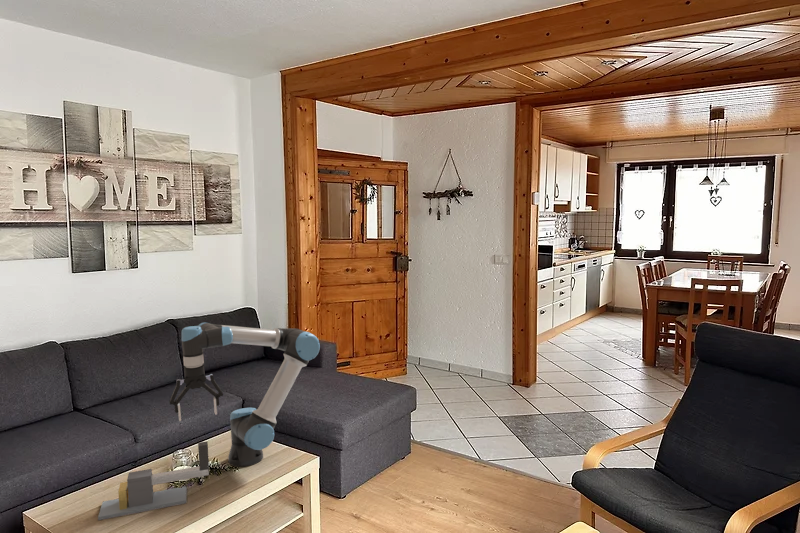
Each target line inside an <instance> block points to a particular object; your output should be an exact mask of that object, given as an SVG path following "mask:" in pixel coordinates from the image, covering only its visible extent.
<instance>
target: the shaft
mask: <svg viewBox="0 0 800 533" xmlns="http://www.w3.org/2000/svg"><path fill="white" fill-rule="evenodd" d="M208 443H209V442H208V441H201V442H198V443H197V446H198V448H197V449H198V462H199V463H198V464H199V466H192V467H186V468H181V469H180V468H179V469H175V470H170V471H169V470H168V471H163V472H158V473H152V474H151V484H152V485H153V486H156V485H160V484H166V483H172V482H173V483H174V482H176V481H183V480H188V479H194V478H200V477H206V476H210V475H209V470H210V461H209V446H208Z"/></svg>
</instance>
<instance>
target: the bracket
mask: <svg viewBox="0 0 800 533" xmlns="http://www.w3.org/2000/svg"><path fill="white" fill-rule="evenodd" d="M152 470H153V468H147V469H142V470H136V471H130V472H128V474H127V479H126V482H127V484H128V499H129V502H128V507H127V509H122V510H120V508H119V498H115V499H110V500H105V501H102V504H101V506H100V510H99V513H98V515H97V521H100V520H101V521H102V520H108V519H113V518H118V517H121V516H127V515H132V514H137V513H142V512H148V511H153V510H158V509H164V508H169V507H173V506H178V505H180V506H181V505H184V504H187V489H188V488H187V485H184V486H181V487H182V488H179V487H174V488H169V489H164V490H158V491H154V485H152V484H151V474H153V471H152Z"/></svg>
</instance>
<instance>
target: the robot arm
mask: <svg viewBox="0 0 800 533" xmlns="http://www.w3.org/2000/svg"><path fill="white" fill-rule="evenodd" d="M231 344H235V345H236V344H237V345H238V344H239V345H248V346H249V345H250V346H251V345H252V346H260V347H261V346H263V347H271V349H274V350H280V351H283V352H284V353H283V357H284V359H283V361H282V363H281V365H280V367H279V369H278V371H277V372H276V375H275V376H274V379H273V380H272V381H271V384H270V385H269V387H268V390H267V391H266V392H265V395H264V396H263V398H262V400H261V402H260V404H259V406H258V407H257V408H256V407H244V408H237V409H235V410H233V411H232V412H230V414H229V415H230V416H229V422H230V437H231V438H230V439H231V446H230V448H229V453H228V457H227V458H228V464H229V465H231V466H234V467H249V466H253V465H255V464H258V463H259V462H261V461H262V460H264V452H263V450H264V449H266V448H268V447H269V446H270V445H271V444H272V442H274V439H275V430H274V429H275V428H276V425H277V419H276V417H277V415H278V414H279V412H280V410H281V408H282V406H283V404H284V402H285V400H286V398H287V396H288V394H290V390H291V389H292V387H293V386H294V384H295V382H296V379H297V377H298V376H299V374H300V372H301V370H302V368H304V367H307V366H308V364H309V361H311V360H313V359H315V358H316V357H317V356H318V355H319V352H320V348H321V345H320V340H319V338H318V337H317V336H316V335H315V334H313V333H311V332H309V331H305V330H303V329H302V330H301V329H300V328H286V327H284V328H281V327H274V328H273V329H268V328H258V327H248V326H247V327H246V326H237V325H224V324H217V323H216V324H215V323H214V324H213V323H210V322H201V323H199V324H198V325H194V326H193V325H192V326H185V327H183V328H182V330H181V345H182V357H183V358H182V360H183V366H184V367H183V370H184V371H183V372H184V378H183V379H179V378H177V379H176V385H175V387H174V389H173V391H172V393H171V396H170V399H169V401H168V402H169V405H174V413H176V414H178V421H179V422H181V421H182V414H181V405H180V404H181V403H180V402H181V401H182V399H183V398H184V397H185V395H186V394H187V392H189V391H190V390H195V389H201V388H203V389H205V390H206V391H207V392H208V393H210V394H211V395H212V396H213V411H214V412H213V413H214V414H215V416H216V415H218V410H217V409H218V407H217V406H220V397H223V396H224V392H223V391H222V390H221V387H220V386H219V384H218V383H217V382H216V380H215V378H214V374H213V373H210V374H209V375H206V374H205V360H204V350H206V349H210V348H212V349H213V348H217V347H225V346H228V345H231ZM206 380H208V381H210V383H211V384H212V385H213V387H214V388H215V390H216V391H217V392H216V391H215V390H214V389H213V388H211V387H210V386H209V385H208V384H207V383H206ZM183 384H185V386H184V388H183V389H182V391H181V392H180V394H179V395H178V393H179V390H180V387H181V386H182V385H183ZM177 395H178V396H177ZM176 396H177V397H176Z"/></svg>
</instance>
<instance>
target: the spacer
mask: <svg viewBox="0 0 800 533" xmlns="http://www.w3.org/2000/svg"><path fill="white" fill-rule="evenodd" d="M117 493H118V499H119V508H120V510H122V509H127V507H128V502H129V499H128V484H127V481H124V482H120V483H119V487H118V492H117Z"/></svg>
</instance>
